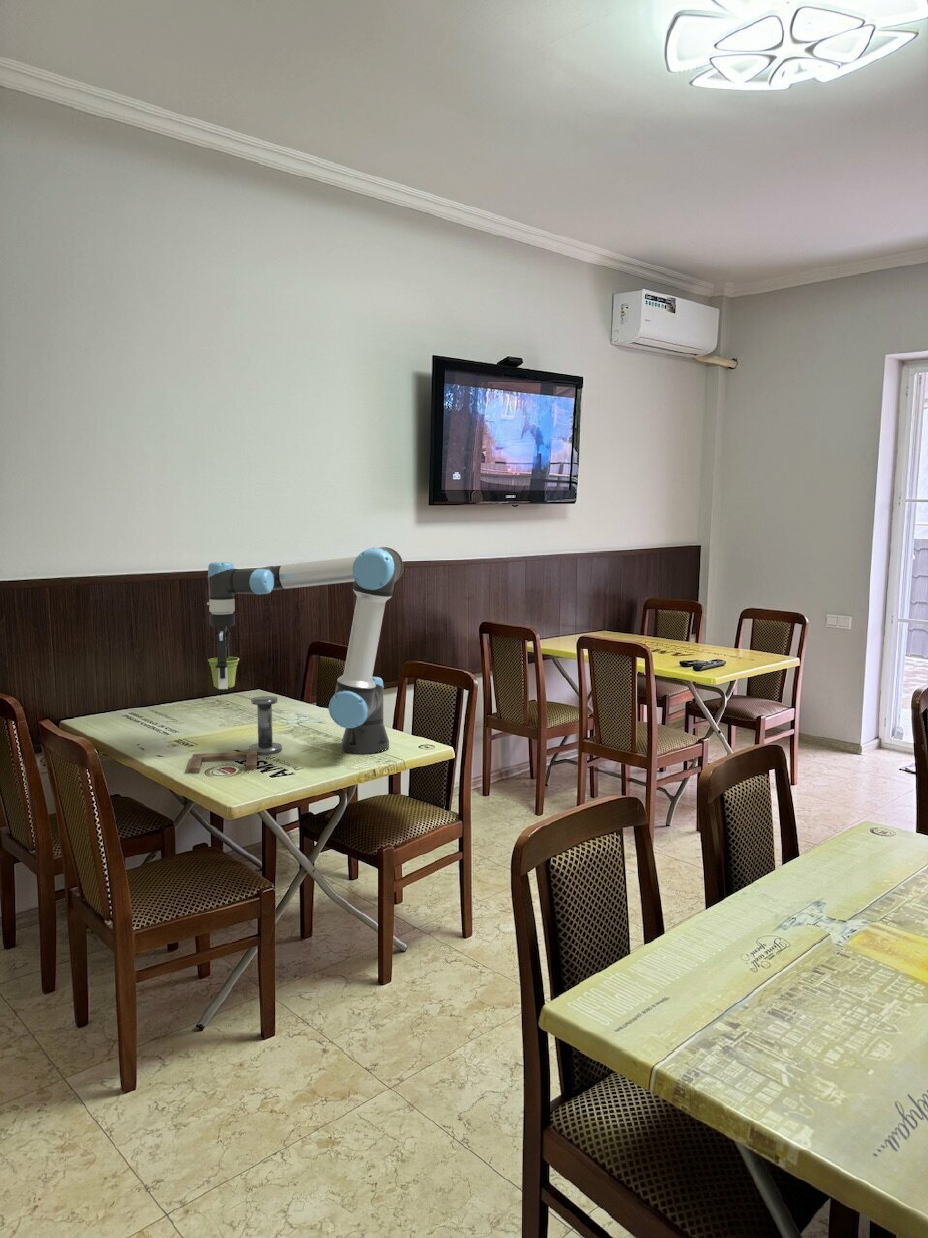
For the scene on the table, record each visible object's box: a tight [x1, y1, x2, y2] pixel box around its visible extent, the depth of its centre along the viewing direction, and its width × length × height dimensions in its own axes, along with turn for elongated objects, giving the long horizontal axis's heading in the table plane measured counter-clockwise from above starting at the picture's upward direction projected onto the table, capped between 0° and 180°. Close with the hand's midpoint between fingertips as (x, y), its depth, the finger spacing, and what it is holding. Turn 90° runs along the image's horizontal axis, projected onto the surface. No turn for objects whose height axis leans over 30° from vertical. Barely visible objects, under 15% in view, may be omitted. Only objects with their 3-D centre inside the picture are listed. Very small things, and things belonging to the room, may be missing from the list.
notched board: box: [187, 750, 258, 774], centre depth 263 cm, size 19×16×2 cm
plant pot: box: [207, 656, 240, 689], centre depth 273 cm, size 9×9×9 cm
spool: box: [248, 695, 283, 756], centre depth 278 cm, size 10×10×17 cm
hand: (224, 686), depth 273 cm, fingers closed on plant pot, 8 cm apart
